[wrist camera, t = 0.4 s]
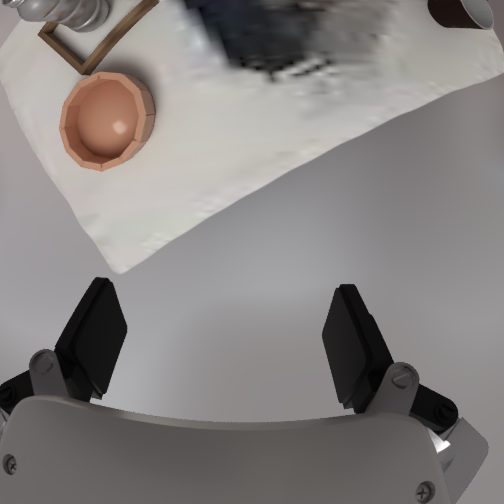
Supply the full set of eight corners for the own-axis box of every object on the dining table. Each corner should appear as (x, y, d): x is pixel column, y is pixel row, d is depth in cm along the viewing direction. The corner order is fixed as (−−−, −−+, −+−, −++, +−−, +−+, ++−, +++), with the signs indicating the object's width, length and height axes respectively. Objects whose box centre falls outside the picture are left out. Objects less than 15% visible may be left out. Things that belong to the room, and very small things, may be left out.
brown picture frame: (105, -31, 17) (99, -36, 15) (158, 2, 24) (153, -3, 21) (45, 35, 22) (37, 34, 20) (89, 75, 28) (81, 74, 26)
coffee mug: (431, 30, 24) (469, 24, 16) (415, -11, 20) (449, -25, 12) (472, 38, 23) (508, 37, 14) (459, 0, 19) (492, -6, 10)
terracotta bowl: (113, 57, 28) (99, 54, 24) (174, 112, 33) (166, 114, 29) (62, 127, 32) (46, 132, 28) (116, 179, 38) (103, 189, 34)
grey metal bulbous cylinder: (107, -7, 21) (33, -45, 4) (118, 19, 24) (38, -16, 7) (74, 16, 22) (-8, -4, 5) (84, 42, 25) (-5, 29, 8)
